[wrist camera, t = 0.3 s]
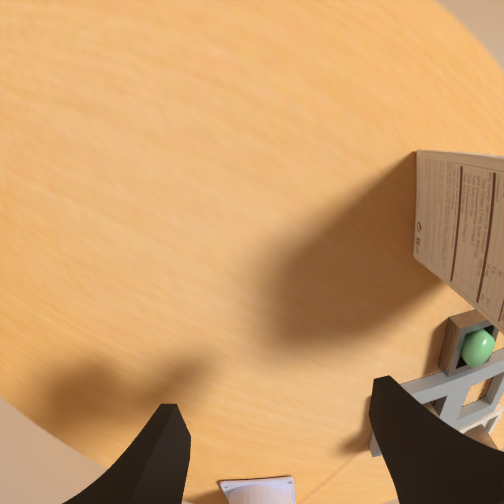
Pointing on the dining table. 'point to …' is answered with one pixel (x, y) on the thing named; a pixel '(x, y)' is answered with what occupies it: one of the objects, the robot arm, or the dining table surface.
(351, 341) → the dining table surface
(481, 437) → the cylinder
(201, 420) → the dining table surface
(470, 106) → the dining table surface
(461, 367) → the switch box
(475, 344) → the button
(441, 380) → the grey frame
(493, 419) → the white square tray
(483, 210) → the supplement box
